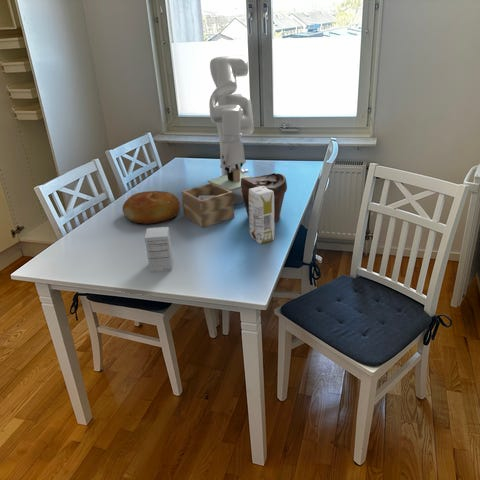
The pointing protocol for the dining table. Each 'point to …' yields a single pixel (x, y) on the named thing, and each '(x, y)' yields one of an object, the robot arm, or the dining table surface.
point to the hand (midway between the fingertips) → (233, 179)
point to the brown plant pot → (270, 182)
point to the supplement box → (159, 249)
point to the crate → (208, 204)
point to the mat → (237, 197)
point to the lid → (227, 183)
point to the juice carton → (261, 214)
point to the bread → (151, 207)
